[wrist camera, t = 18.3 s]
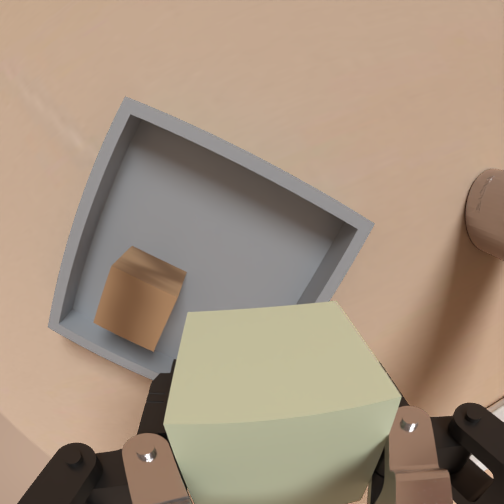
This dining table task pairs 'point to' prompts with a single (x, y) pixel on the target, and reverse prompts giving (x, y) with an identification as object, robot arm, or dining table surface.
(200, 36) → the dining table surface
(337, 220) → the tray
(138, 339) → the walnut block
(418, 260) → the dining table surface
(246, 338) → the sage block
